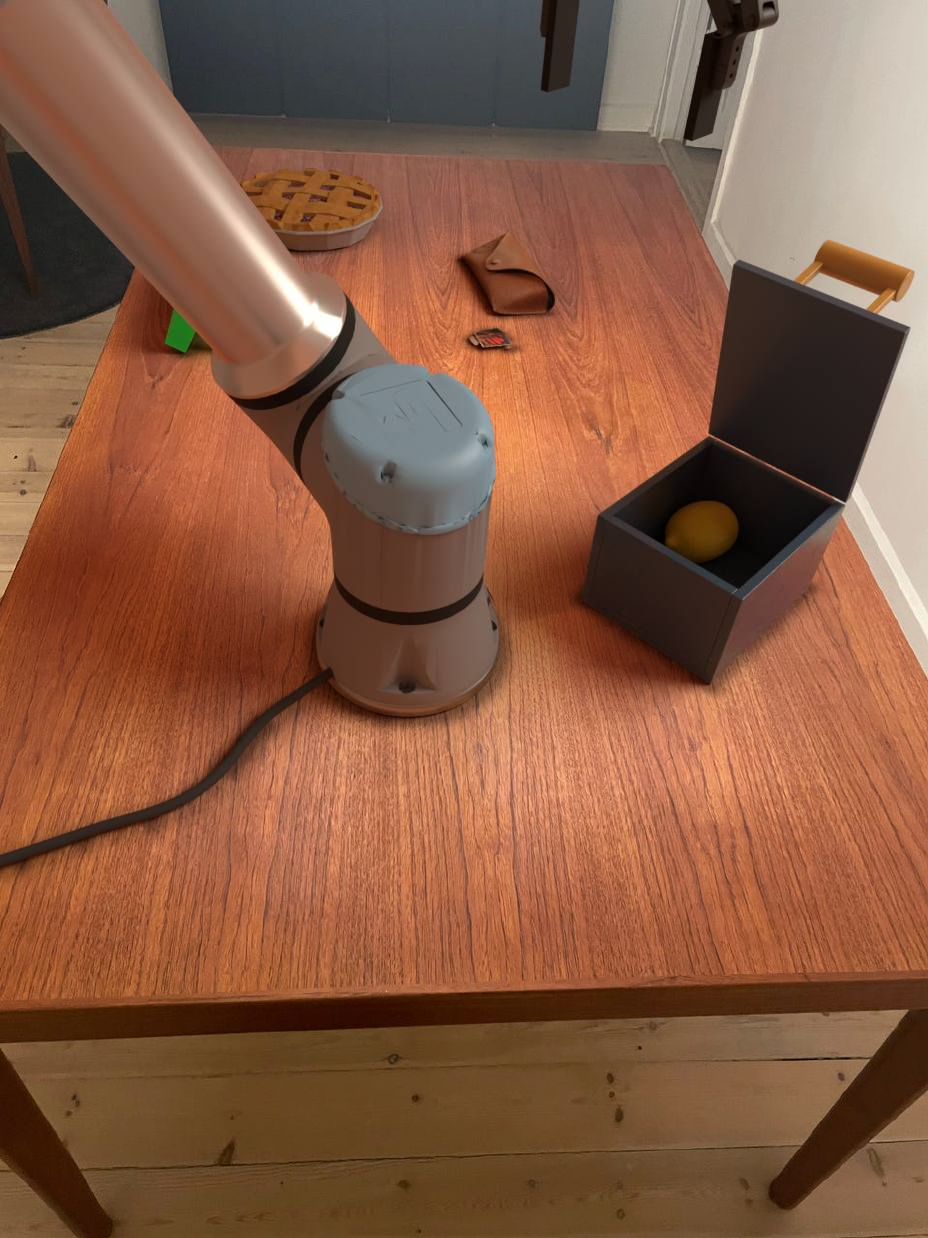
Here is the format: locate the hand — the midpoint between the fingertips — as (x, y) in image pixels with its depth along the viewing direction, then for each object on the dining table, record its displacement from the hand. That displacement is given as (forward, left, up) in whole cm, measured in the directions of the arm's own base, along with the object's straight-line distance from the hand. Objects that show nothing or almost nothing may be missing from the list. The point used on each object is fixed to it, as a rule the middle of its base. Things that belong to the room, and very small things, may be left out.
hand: (623, 111), depth 69 cm
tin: (-5, -19, -35) cm, 40 cm away
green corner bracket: (-16, +47, -33) cm, 60 cm away
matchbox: (+15, +24, -35) cm, 45 cm away
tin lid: (+1, -19, -16) cm, 25 cm away
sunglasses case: (+28, +33, -35) cm, 56 cm away
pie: (+20, +65, -32) cm, 75 cm away
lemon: (-5, -15, -31) cm, 35 cm away
